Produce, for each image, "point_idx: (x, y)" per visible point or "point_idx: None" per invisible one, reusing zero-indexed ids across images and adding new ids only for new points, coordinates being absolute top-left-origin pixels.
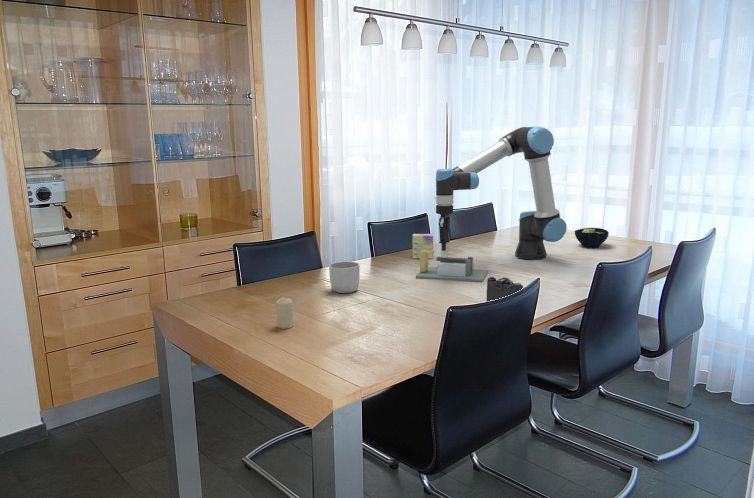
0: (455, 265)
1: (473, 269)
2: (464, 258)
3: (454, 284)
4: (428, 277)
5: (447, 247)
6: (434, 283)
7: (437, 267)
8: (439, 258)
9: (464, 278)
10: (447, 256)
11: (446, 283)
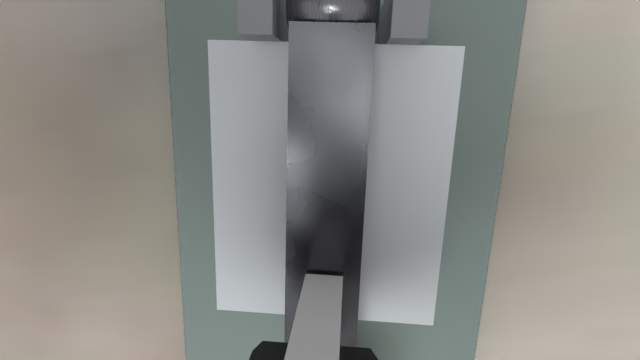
0: (449, 154)
1: (176, 19)
2: (302, 76)
3: (620, 115)
4: (476, 325)
5: (298, 348)
6: (596, 263)
7: (189, 306)
8: (355, 343)
9: (505, 50)
10: (311, 278)
11: (591, 180)
